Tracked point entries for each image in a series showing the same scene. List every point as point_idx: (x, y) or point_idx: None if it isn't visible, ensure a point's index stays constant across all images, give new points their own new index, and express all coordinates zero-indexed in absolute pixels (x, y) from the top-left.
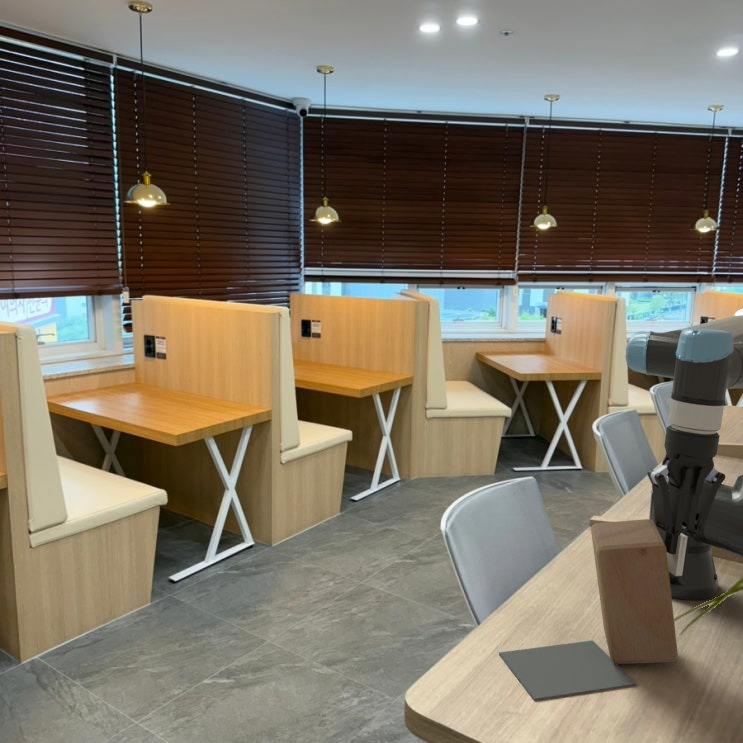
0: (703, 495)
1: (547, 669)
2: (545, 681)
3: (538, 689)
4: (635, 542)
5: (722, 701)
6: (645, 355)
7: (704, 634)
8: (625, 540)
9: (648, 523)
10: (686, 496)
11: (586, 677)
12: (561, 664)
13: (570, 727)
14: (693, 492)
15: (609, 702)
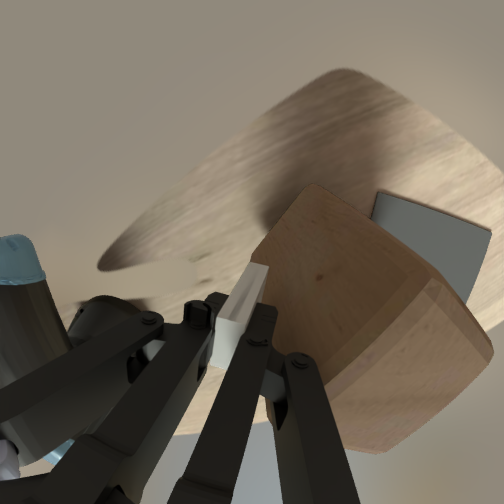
0: (64, 412)
1: (446, 269)
2: (465, 251)
3: (479, 243)
4: (458, 339)
5: (296, 111)
6: None
7: (176, 238)
8: (453, 363)
9: None
10: (151, 456)
11: (423, 234)
12: None
13: (491, 178)
14: (127, 464)
15: (433, 185)
